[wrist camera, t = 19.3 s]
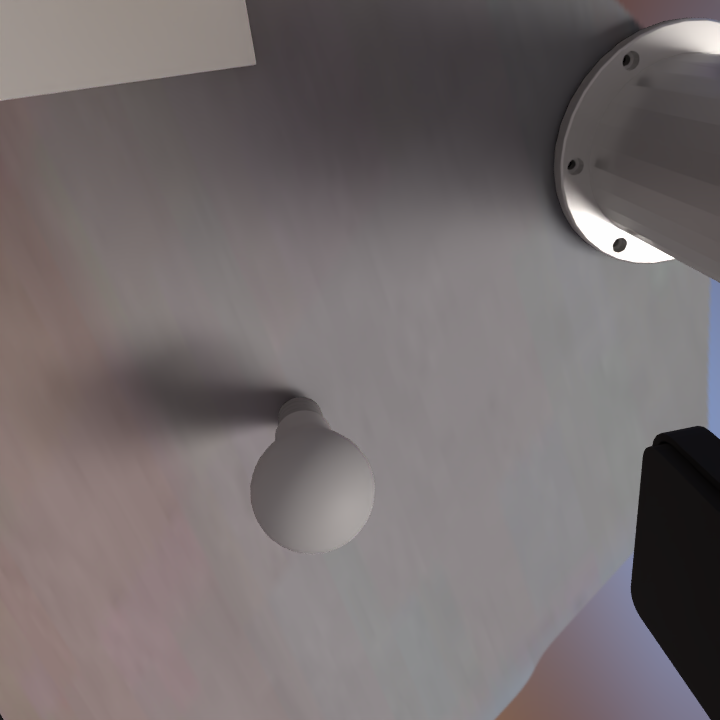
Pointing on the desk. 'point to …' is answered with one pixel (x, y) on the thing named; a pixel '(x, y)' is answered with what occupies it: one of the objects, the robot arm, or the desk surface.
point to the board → (116, 42)
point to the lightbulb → (311, 483)
